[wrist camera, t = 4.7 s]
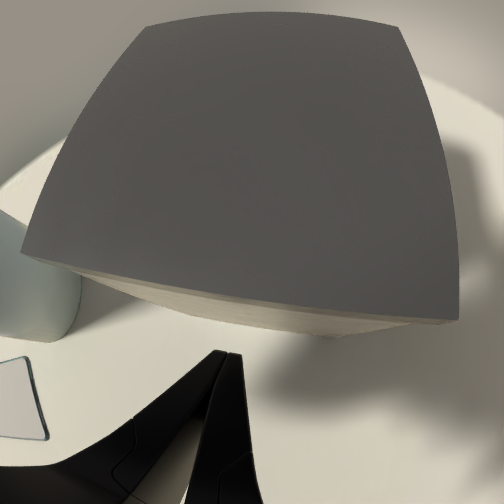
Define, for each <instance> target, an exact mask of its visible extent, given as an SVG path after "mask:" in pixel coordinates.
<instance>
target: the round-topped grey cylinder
mask: <svg viewBox="0 0 504 504" xmlns="http://www.w3.org/2000/svg"><path fill="white" fill-rule="evenodd" d="M27 229H28V226H27V225H25V224H23V223H22V222H20V221H18V220H17V219H15V218H13V217H12V216H10V215H8V214H7V213H5V212H4V211H2V210H0V336H2V337H8V338H14V339H21V340H28V341H36V342H44V343H51V342H55V341H57V340H59V339H60V338H61V337H63V336H64V335H65V334H66V333H67V331H68V330H69V329H70V327H71V325H72V324H73V322H74V319H75V317H76V314H77V312H78V308H79V304H80V298H81V275H80V274H77V273H75V272H73V271H70V270H68V269H65V268H61V267H57V266H53V265H49V264H46V263H42V262H39V261H37V260H34V259H32V258H30V257H28V256H26V255H24V254H21V253H20V251H21V248H22V244H23V241H24V238H25V235H26V232H27Z"/></svg>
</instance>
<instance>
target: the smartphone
mask: <svg viewBox="0 0 504 504" xmlns="http://www.w3.org/2000/svg"><path fill="white" fill-rule="evenodd" d="M0 437H6V438H15V439H25V440H40V441H46V440H48V439H49V434H48V431H47V427H46V424H45V421H44V418H43V415H42V411H41V408H40V404H39V401H38V397H37V393H36V389H35V385H34V380H33V376H32V371H31V366H30V362H29V359H28V358H27V357H25V356H22V357H18V358H15V359H11V360H8V361H4V362H1V363H0Z"/></svg>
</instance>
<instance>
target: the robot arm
mask: <svg viewBox="0 0 504 504" xmlns="http://www.w3.org/2000/svg"><path fill="white" fill-rule="evenodd" d="M252 451H253V450H252V442H251V433H250V425H249V416H248V407H247V398H246V389H245V380H244V370H243V360H242V355H241V354H237V353H231V352H230V353H227V352H226V351H221V350H213V351H212V352H211V353H210V354H209V355H208V356H206V357H205V358H204V359H203V360H202V361H201V362H199V363H198V364H197V365H196V366H195V367H194V368H192V369H191V370H190V371H189V372H188V373H186V374H185V375H184V376H183V377H182V378H181V379H179V380H178V381H177V382H176V383H175V384H173V385H172V386H171V387H170V388H168V389H167V390H166V391H165V392H164V393H162V394H161V395H160V396H159V397H158V398H156V399H155V400H154V401H153V402H151V403H150V404H149V405H148V406H146V407H145V408H144V409H143V410H141V411H140V412H139V413H138V414H136V415H135V416H134V417H133V419H130V420H128V421H127V422H126V423H125V424H123V425H122V426H121V427H119V428H118V429H117V430H115V431H114V432H112V433H111V434H110V435H108V436H106V437H105V438H103V439H101V440H100V441H98V442H96V443H95V444H93V445H91V446H89V447H88V448H86V449H84V450H82V451H80V452H78V453H76V454H75V455H73V456H71V457H69V458H67V459H65V460H63V461H61V462H58V463H55V464H51V465H44V466H0V504H180V502H181V500H182V498H183V495H184V493H185V491H186V489H187V486H188V484H189V486H188V490H187V494H186V499H185V503H184V504H263V500H262V497H261V493H260V490H259V486H258V482H257V477H256V471H255V465H254V457H253V453H252Z"/></svg>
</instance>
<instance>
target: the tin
mask: <svg viewBox="0 0 504 504" xmlns="http://www.w3.org/2000/svg"><path fill="white" fill-rule="evenodd" d="M20 253H21V254H24V255H26V256H28V257H30V258H32V259H34V260H37V261H39V262H42V263H46V264H49V265H53V266H57V267H61V268H65V269H68V270H70V271H73V272H75V273H77V274H80V275H82V276H84V277H87V278H89V279H92V280H94V281H96V282H99V283H101V284H104V285H106V286H109V287H112V288H114V289H117V290H119V291H122V292H125V293H127V294H130V295H133V296H135V297H138V298H141V299H143V300H146V301H149V302H152V303H155V304H157V305H160V306H163V307H166V308H169V309H172V310H175V311H178V312H181V313H184V314H187V315H190V316H195V317H200V318H206V319H211V320H216V321H222V322H228V323H233V324H239V325H245V326H251V327H258V328H264V329H271V330H278V331H285V332H293V333H301V334H309V335H317V336H326V337H341V336H348V335H354V334H360V333H366V332H371V331H377V330H382V329H387V328H392V327H397V326H402V325H407V324H412V323H419V324H435V325H438V324H443V323H448V322H453V321H458V319H459V259H458V243H457V232H456V222H455V214H454V206H453V199H452V193H451V187H450V181H449V176H448V171H447V166H446V161H445V157H444V152H443V148H442V144H441V140H440V136H439V133H438V129H437V125H436V122H435V119H434V115H433V112H432V109H431V106H430V103H429V100H428V97H427V94H426V91H425V88H424V86H423V83H422V80H421V78H420V75H419V72H418V70H417V68H416V65H415V63H414V60H413V58H412V56H411V53H410V51H409V49H408V47H407V45H406V43H405V40H404V39H403V36H402V34H401V32H400V30H399V28H398V27H395V26H391V25H387V24H382V23H377V22H373V21H367V20H362V19H355V18H349V17H342V16H334V15H325V14H315V13H300V12H246V13H230V14H219V15H210V16H201V17H194V18H188V19H182V20H177V21H171V22H166V23H161V24H156V25H152V26H148V27H145V28H144V29H143V30H142V32H141V33H140V34H139V35H138V36H137V37H136V38H135V40H134V41H133V42H132V43H131V44H130V46H129V47H128V48H127V49H126V50H125V52H124V53H123V54H122V55H121V57H120V58H119V59H118V60H117V62H116V63H115V65H114V66H113V67H112V68H111V70H110V71H109V72H108V74H107V75H106V77H105V78H104V79H103V81H102V82H101V84H100V85H99V86H98V88H97V89H96V91H95V92H94V94H93V95H92V97H91V98H90V100H89V101H88V103H87V105H86V106H85V108H84V109H83V111H82V113H81V114H80V116H79V118H78V119H77V121H76V123H75V124H74V126H73V128H72V130H71V132H70V133H69V135H68V137H67V139H66V141H65V143H64V144H63V146H62V148H61V150H60V152H59V154H58V156H57V158H56V160H55V162H54V164H53V166H52V169H51V171H50V173H49V175H48V177H47V180H46V182H45V184H44V187H43V189H42V191H41V194H40V196H39V199H38V201H37V204H36V206H35V209H34V212H33V214H32V217H31V220H30V223H29V226H28V229H27V232H26V235H25V238H24V241H23V244H22V248H21V251H20Z"/></svg>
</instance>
